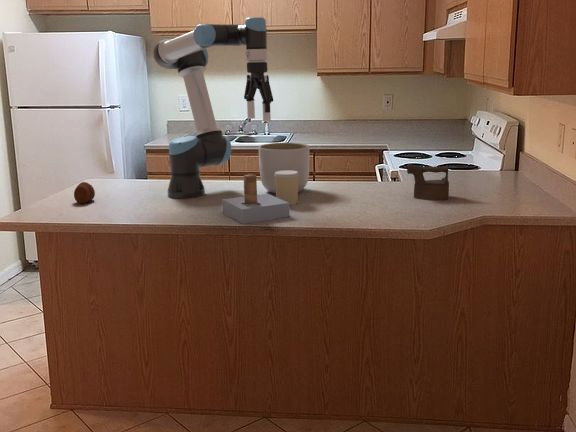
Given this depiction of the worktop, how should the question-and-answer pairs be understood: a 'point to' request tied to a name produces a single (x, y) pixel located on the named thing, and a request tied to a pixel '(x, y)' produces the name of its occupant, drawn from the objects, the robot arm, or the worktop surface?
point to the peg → (250, 190)
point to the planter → (283, 162)
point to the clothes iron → (429, 183)
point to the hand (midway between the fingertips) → (258, 120)
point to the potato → (84, 193)
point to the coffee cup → (287, 185)
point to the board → (256, 209)
